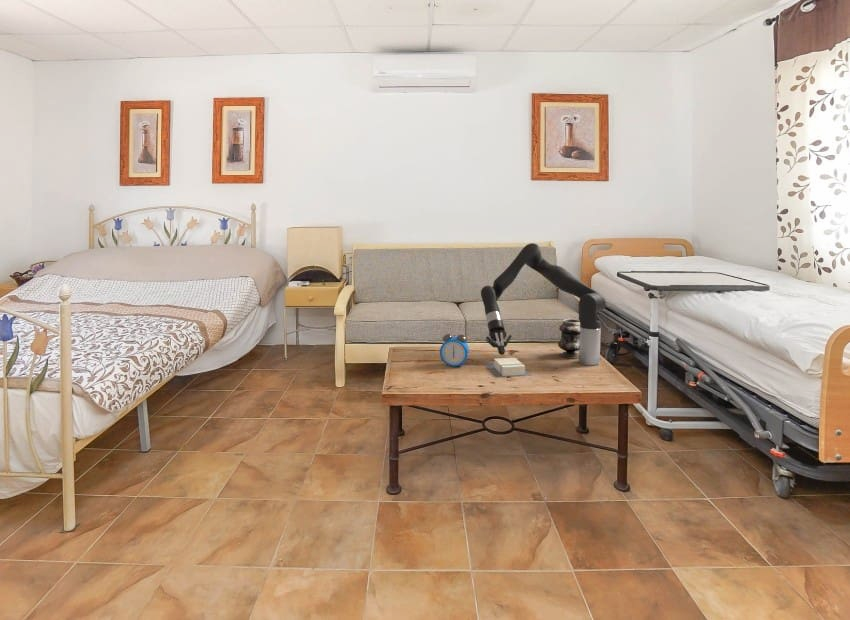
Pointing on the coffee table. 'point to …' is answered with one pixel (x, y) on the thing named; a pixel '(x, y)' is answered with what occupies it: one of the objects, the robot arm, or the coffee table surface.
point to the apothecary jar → (570, 338)
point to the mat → (497, 374)
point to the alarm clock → (454, 350)
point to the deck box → (509, 366)
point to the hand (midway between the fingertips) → (502, 354)
